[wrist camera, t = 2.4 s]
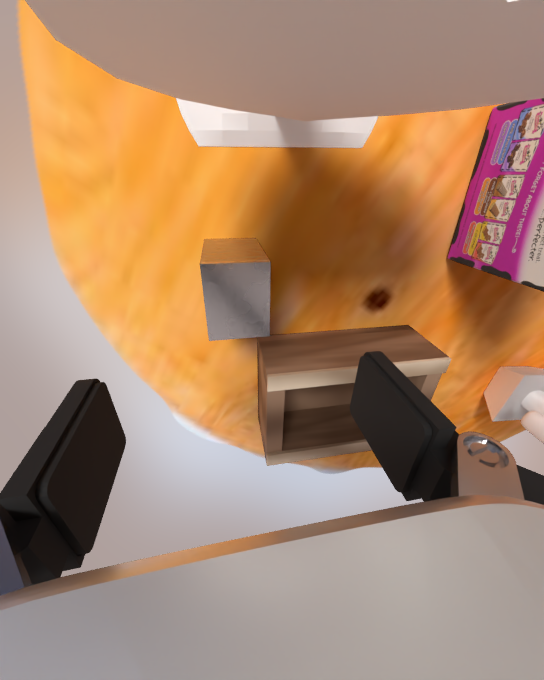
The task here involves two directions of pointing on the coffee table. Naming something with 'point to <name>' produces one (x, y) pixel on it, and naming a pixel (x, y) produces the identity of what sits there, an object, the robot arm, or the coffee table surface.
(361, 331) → the open wooden box
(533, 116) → the candy bar box
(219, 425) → the coffee table surface
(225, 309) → the brushed metal block
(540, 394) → the figurine
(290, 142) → the heart sculpture
